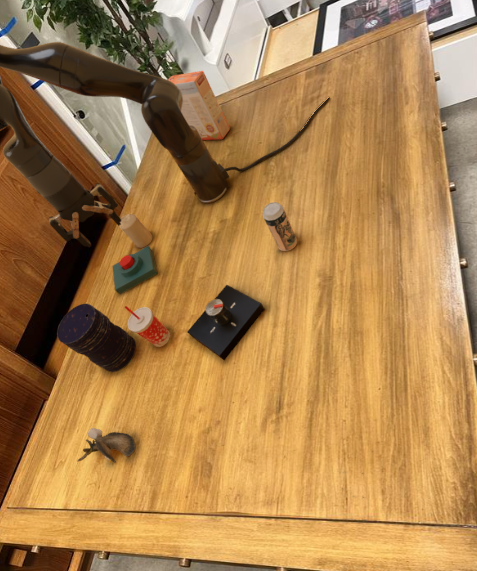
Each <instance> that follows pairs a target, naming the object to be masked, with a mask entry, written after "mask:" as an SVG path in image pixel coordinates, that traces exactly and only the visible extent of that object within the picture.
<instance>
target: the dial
mask: <svg viewBox="0 0 477 571" xmlns="http://www.w3.org/2000/svg"><path fill="white" fill-rule="evenodd" d="M205 310H206V313H207V314H208V315H209V316H210V318H211V319H212V320H213V321H214V322H215V323H216V324H217V325H219V326H223V325H226V324H227V323H228V322H229V321H230V320H231V312H230V311H229V310H228V308H227V307H226V306H225V304H224V303H223V302H222V301H221V300H220V299H215V298H214V299H211V300H210V301H208V303H207V304H206V306H205Z"/></svg>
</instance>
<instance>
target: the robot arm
mask: <svg viewBox="0 0 477 571" xmlns="http://www.w3.org/2000/svg"><path fill="white" fill-rule="evenodd" d="M0 68H1V69H4V70H9V71H12V72H16V73H18V74H22V75H25V76H28V77H31V78H34V79H36V80H38V81H39V80H40V81H41V82H45V83H48V84H49V85H50V84H51V85H53V86H55V87H58V88H60V89H63V90H66V91H68V92H71V93H74V94H76V95H80V96H84V97H92V98H122V99H127V100H129V101H132V102H135V103H137V104H140V105H141V107H140V112H141V115H142V118H143V121H144V122H145V124H146V125H147V127H148V128H149V130H150V131H151V132H152V134H153V135H154V137H155V138H156V140H157V141H158V143H159V145H161V146H162V147H163V148H164V149H165V150H167V151H168V153H169V154H170V156H171V157H172V159H173V161H174V162H175V163H176V165H177V166H178V168H179V170H180V172H181V173H182V174H183V176H184V177H185V180H186V181H187V182H188V184H189V185H190V187H191V189H192V191H193V192H194V195H195V196H197V199H198V200H199V202H201V203H202V204H212V203H214V202H217V201H218V200H220V199H221V198H222V197H224V196H225V194H226V193H227V191H228V190H229V189H230V188H231V187H230V185H229V183H228V181H227V180H228V179H229V178H230V176H229V173H228V172H229V171H237V172H240V173H241V172H244V171H247V170H250V169H251V168H253V167H255V166H256V165H257V164H259V163H261V162H262V161H264V160H266V159H268V158H269V157H272V156H273V155H276V154H277V153H280V152H281V151H283V150H285V149H286V148H287V147H289V146H291V145H292V143H294V142H295V141H296V140H297V139H298V137H299V136H301V134H302V133H303V132H304V131H305V130H306V129H307V127H308V126H309V124H310V123H311V121H312V120H313V118H314V117H315V116H316V114H317V113H318V112H319V111H320V110H321V109H322V108H323V107H324V106H325V105H326V104H327V103H328V102H329V101H330V100H331V97H330V96H328V97H329V98H328V99H327V100H326V101H325V102H324V100H323V101H322V102H321V103H320V104H319V105H318V107H319V106H320V105H321V104H322V103H323V102H324V103H323V104H322V105H321V106H320V107H319V108H318V107H317V108H318V109H317V108H316V109H317V110H316V109H315V110H316V111H315V110H314V111H315V112H314V111H313V112H314V114H313V115H312V114H311V115H312V116H311V115H310V116H311V118H310V116H309V117H308V119H309V118H310V119H309V121H308V119H307V120H306V122H307V121H308V122H307V124H306V122H305V123H304V125H305V124H306V125H305V126H304V125H303V126H304V128H303V129H302V128H301V129H302V130H301V129H300V130H301V131H300V130H299V131H297V133H296V134H295V135H294V136H293V137H292V138H291V139H290V140H289V141H287V142H286V143H285V144H284V145H282V146H281V147H279V148H278V149H276V150H273V151H272V152H270V153H267V154H266V155H263V156H262V157H260V158H258V159H257V160H255V161H254V162H252V163H250V164H249V165H247V166H245V167H242V168H239V167H237V166H231V167H226V168H225V167H224V166H223V165H222V164H220V163H217V161H216V160H215V159H214V158H213V156H212V155H211V153H210V151H209V149H208V147H207V146H206V144H205V142H204V140H202V138H201V136H200V134H199V133H198V131H197V129H196V128H195V127H194V126H192V125H189V124H188V123H187V121H186V119H185V118H184V116H183V114H182V112H181V109H182V104H183V96H182V93H181V91H180V89H179V88H178V87H177V86H176V85H175V84H174V83H172V82H171V81H169V80H168V79H166V78H164V77H160V76H156V75H154V74H149V73H145V72H142V71H138V70H134V69H131V68H128V67H125V66H122V65H120V64H118V63H116V62H113V61H110V60H107V59H105V58H102V57H99V56H97V55H95V54H92V53H90V52H87V51H85V50H83V49H81V48H78V47H75V46H72V45H69V44H68V43H65V42H62V41H53V42H47V43H46V42H45V43H43V44H38V45H35V46H30V47H25V48H15V47H9V46H6V45H5V46H4V45H2V44H0ZM28 122H29V121H27V118H26V117H25V115H24V113H23V111H22V109H21V108H20V105H19V103H18V102H17V100H16V98H15V97H14V95H13V94H12V92H11V91H10V90H9V89H8V88H7V87H6V86H4V85H3V82H2V78H1V76H0V132H1V131H3V130H4V129H6V128H7V127H9V126H10V128H11V129H12V130H13V135H12V136H11V138H10V139H9V140H8V141H7V142H6V143H5V144H4V146H3V148H2V155H3V157H4V158H5V159H6V161H7V162H9V163H10V164H11V165H12V166H13V167H14V168H15V169H16V171H18V172H19V174H21V176H23V177H24V178H25V179H26V181H27V182H28V183H29V185H30V186H31V187H32V188H33V189H35V192H37V194H39V195H40V196H41V197H43V199H45V201H46V202H47V203H48V204H50V206H51V207H53V208H54V209H55V210H56V211H57V212H58V214H56V215H54V216H52V215H51V216H49V217H48V221H49V225H50V226H51V227H52V228H53V230H55V232H56V233H57V234H58V235H59V236H60V237H61V238H62V239H63V240H64V241H65V242H70V241H71V240H73V239H76V240H77V241H78V243H80V244H81V245H82V246H83V247H87V248H90V247H92V243H91V241H90V240H89V238H87V237H86V236H85V235H84V234H83V233H82V232H81V231H80V223H84V222H86V220H87V219H88V218H91V217H92V216H94V214H95V213H96V214H97V213H98V214H107V215H108V216H109V217H110V218H111V219H112V220H113V222H114V223H115V224H116V225H117V227H119V225H121V223H120V222H121V217H120V215H118V212H116V211H115V209H116V208H118V206H119V204H118V202H117V200H116V198H114V196H113V195H112V194H111V193H110V192H109V191H108V190H107V189H106V188H105V187H104V186H103V185H102V184H101V183H95V187H94V188H92V190H88V189H86V188H85V187H84V185H83V184H81V182H80V181H79V180H78V179H77V178H76V177H75V176H74V175H73V173H72V172H70V170H69V169H68V168H67V166H65V164H63V162H62V161H61V160H60V159H58V158H57V157H56V156H55V155H54V154H53V152H51V151H50V149H49V148H47V147H46V146H45V144H44V143H43V142H42V141H41V140H40V139H39V137H38V136H37V135H36V133H35V132H34V130H33V129H32V127H31V126H30V123H28ZM95 196H97V197H99V198H101V197H103V198H104V199H105V201H107V202H108V203H103V202H101V201H99V200H95ZM62 220H65V221H69V222H70V229H71V230H70V231H68V230H67V229H66V228H65V227H64V226H63V222H62Z"/></svg>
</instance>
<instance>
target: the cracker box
mask: <svg viewBox="0 0 477 571" xmlns="http://www.w3.org/2000/svg"><path fill="white" fill-rule="evenodd" d="M167 80H169V81H171V82H172V83H174V84H175V85H176V86H177V87H178V88H179V89H180V91H181V93H182V96H183V104H182V109H181V112H182V114H183V116H184V118H185V119H186V121H187V123H188V124H189V125H192V126H194V127H195V128H196V129H197V131H198V133H199V134H200V136H201V138H202V140H203V141H209V140H211V141H212V140H215V141H216V140H224V138H225V137H226V135H227V134H228V133H229V131H230V130H231V127H230V125H229V122H228V120H227V118H226V116H225V114H224V112H223V110H222V108H221V106H220V103H219V102H218V99H217V98H216V95H215V93H214V90H213V89H212V87H211V84H210V81H209V80H208V78H207V76H206V74H205V72H204V70H199V71H193V72H186V73H182V74H174V75H171V76H170V77H169V78H168V79H167Z"/></svg>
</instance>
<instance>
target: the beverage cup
mask: <svg viewBox="0 0 477 571" xmlns="http://www.w3.org/2000/svg"><path fill="white" fill-rule="evenodd" d="M124 309H125V310H127V311H128V312H129V313H130V316H129V318H128V320H127V328H128V329H129V331H130V332H132V333H134V334H137V335H138V336H139V337H141V338H143V339H144V340H146V342H149V343H150V344H152V345H153V346H154V347H157V348H160V347H163V346H165V345H166V344H168V342H169V340H170V337H171V332H170V331H169V330H168V328H167V327H165V325H164V324H163V323H162V322H161V321H160V320H159V319H158V318H157V316H156V315H154V312H153V311H152V310H151V309H150V308H149V307H146V306H143V307H139V308H137V309H135V310H134V311H133V310H131V309H130V307H128V306H127V305H125V306H124Z"/></svg>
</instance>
